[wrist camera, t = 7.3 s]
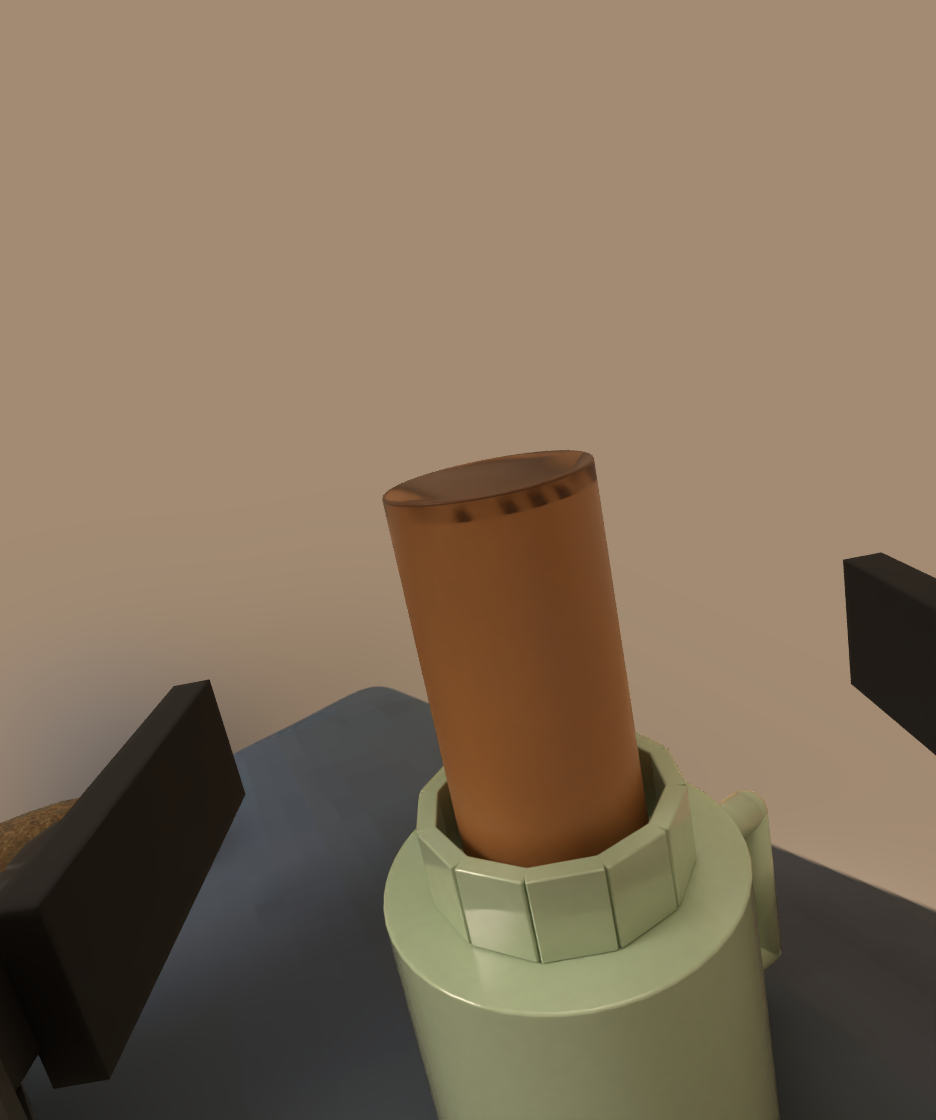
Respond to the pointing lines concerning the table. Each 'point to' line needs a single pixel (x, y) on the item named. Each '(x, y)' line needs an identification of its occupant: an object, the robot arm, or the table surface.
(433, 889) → the jug
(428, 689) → the brown cylindrical canister
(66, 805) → the brown wooden cylinder
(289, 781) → the table surface
